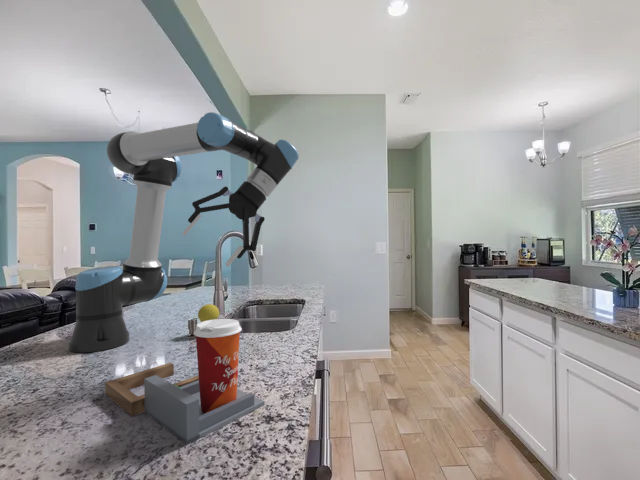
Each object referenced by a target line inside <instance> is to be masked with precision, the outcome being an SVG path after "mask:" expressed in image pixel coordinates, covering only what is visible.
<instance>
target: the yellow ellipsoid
mask: <svg viewBox="0 0 640 480" xmlns="http://www.w3.org/2000/svg"><path fill="white" fill-rule="evenodd" d="M219 316H220V309H219V308H218V306H216V305H215V304H212V303H211V304H210V303H208V304H205V305H202V306H201V307H200V308H199V310H198V313H197V319H199V321H200V323H201V322H203V321H208V320H214V319H219Z"/></svg>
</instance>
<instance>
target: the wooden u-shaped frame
mask: <svg viewBox="0 0 640 480" xmlns="http://www.w3.org/2000/svg"><path fill="white" fill-rule="evenodd" d="M174 365H175V364H174V363H172V362H169V363H165V364H162V365H161V364H160V365H157V366H154V367H152V368H148V369H144V370H142V371H138V372H135V373H131V374H128V375H125V376H121V377H118V378H115V379H112V380H108V381H105V382H104V388H105V391H104V393H105V395H106V396H107V397H108V398H109V399H111V400H112V401H113V402H114V403H115V404H117V405H118V406H119V407H120V408H121V409H122V410H124V411H125V412H126V413H127V414H128V415H129V416H130V417H134V416H136V415H137V416H138V415H139V414H142V413H145V395H144V394H141V395H139V396H138V395H136V394H135V393H134V392H132V391H131V389H135V388H138V387H140V386H144V379H145V378H148V377H151V376H154V375H157V376H158V377H160V378H162V379H164V378H168V377H171V376H173V375H175V374H174V373H175V366H174ZM198 380H199V375H198V374H197V375H195V376H192V377H188V378H187V379H186V378H185V379H183V380H180V381H178V382H175V383H172V384H173V385H176V386H178V387H182V386H184V385H187V384H190V383H192V382H195V381H198Z"/></svg>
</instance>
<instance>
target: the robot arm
mask: <svg viewBox="0 0 640 480" xmlns="http://www.w3.org/2000/svg"><path fill="white" fill-rule="evenodd" d="M216 151H225V152H228V153H230V154H232V155H235V156H238V157H240V158H243V159H245V160H247V161H250V162H251V163H252V164H254V165H256V167H255V168H254V169H253V170H252V172H251V173H250V174H249V175H248V176H247V178H246V181H243V182H242V183H241V184H240V186H238V188H237V190H235V192H232V191H231V190H230V189H229V188H228V186H223V187H222V188H220V190H219V191H217V192H214V193H212V194H209V195H207V196H205V197H202V198H200V199H197V200H195V201H193V202H192V203H191V204H192V207H193V209H194V211H193V213H192V214H191V215H190V216H189V218H188V219H187V222H189V223H190V224H189V225H188V226H187V227H186V228H185V229H184V231H182V235H183V236H184V237H185V236H186V235H187V234H188V233H189V232H190V230H191V229H192V228H193V227H194V226H195V224H196V223H197V222H198V221H199V220H200V219H201V217H202V215H201V213H205V212H206V213H207V212H213V211H218V210H219V211H220V210H225V209H228V210H229V212H230V213H231V214H233V215H235V217H236V218H237V219H239V220H242V221H241V223H242V244H243V245H239V246H238V247H237V249H235V251H234V252H232V253H233V254H231V256H230V257H229V258H228V259H227V260H226V262H225V263H224V264H225V266H226V267H228V268H229V267H230V266H231V264H233V262H234V261H235V260H236V258H237V259H241V258H242V257H243V256H244V254H245V253H246V252H247V251H251V252H256V249H257V246H258V240H259V236H260V233H261V227H262V225H263V223H264V221H265V217H264V216H261V215H259V214H258V213H257V212H258V210H259V209H260V207H261V206H262V205H263V204H264V203H265V202H266V200H267V197H269V196H270V195H271V194H272V193H273V191H274V190H275V189H276V188H277V186H278V185H279V183H280V182H282V180H283V179H284V178H285V176H286V175H287V174H288V173H289V172H290V171H291V170H292V169H293V167H294V166H295V165H296V163H297V161H298V160H299V155H300V154H299V153H298V150H297V149H296V147H295V146H294V145H293V144H292V143H291V142H289V141H287V140H286V139H279V140H277V142H275V144H274V143H272V142H270V141H268V140H266V139H265V138H263V137H262V136H260V135H258V134H257V133H255V132H254V131H252V130H250V129H247V128H245V127H244V126H241V125H240V124H238V123H236V122H234V121H232V120H230V119H229V118H228V117H226V116H224V115H222V114H219V113H216V112H212V111H211V112H206V113H204V115H203V116H201V117H200V119H198V121H197V122H195V123H194V122H193V123H188V124H183V125H177V126H173V127H168V128H167V127H166V128H161V129H156V130H152V131H151V130H150V131H146V132H141V133H140V132H137V131H125V132H120V133H118V134H115V135H114V136H113V137H111V138H110V140H109V141H108V143H107V147H106V154H107V155H106V156H107V157H108V160H109V162H110V163H111V164H112V165H113V166H114V167H115V168H116V169H117V170H119V171H121V172H123V173H125V174H129V175H132V176H133V178H132V181H133V183H134V184H135V186H136V187H137V188H136V189H137V190H136V198H135V205H134V206H135V207H134V214H133V223H132V224H133V225H132V230H131V231H132V232H131V241H130V250H129V257H128V258H127V259H125V260H124V261H123V263H122V266H119V265H109V266H100V267H95V268H90V269H86V270H83V271H81V272H79V273H78V274H77V275H76V278H75V286H74V289H75V316H76V317H75V318H76V319H75V326H74V329H73V331H72V335H71V338H70V339H69V341H68V350H69V352H73V353H93V352H100V351H106V350H110V349H115V348H118V347H120V346H123V345H125V344H127V343H129V342H130V332H129V330H128V329H127V325H126V322H125V320H124V317H123V306H127V305H128V306H129V305H133V304H138V303H145V302H149V301H152V300H156V299H158V298H160V296H162V295H163V294H164V293H165V291H166V289H167V286H168V276H167V275H166V274H167V273H166V271H165V270H164V268H162V266H163V265H162V263H161V262H160V260H159V251H160V242H161V236H162V235H161V233H162V225H163V220H164V219H163V217H164V212H165V211H164V210H165V203H166V202H165V201H166V196H167V195H166V194H167V191H169V190H170V189H171V188H172V186H173V185H172V184H173V183H174V182H176V181H177V180H178V178H180V176H181V175H182V162H181V159H180V156H187V155H188V156H189V155H195V154H201V153H208V152H216ZM221 196H223V197H227V196H228V203H222V204H215V205H210V206H203V207H201V206H200V205H202V204H205V203H207V202H209V201H212V200H215V199H217V198H219V197H221ZM251 218H254V222H255V224H254V227H253V232H252V236H251V241H250V219H251Z"/></svg>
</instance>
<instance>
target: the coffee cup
mask: <svg viewBox="0 0 640 480" xmlns="http://www.w3.org/2000/svg"><path fill="white" fill-rule="evenodd" d="M242 330H243V329H242V326H241V325H240V321H239V320H237V319H233V318H218V319H214V320H208V321H203V322H201V321H200V322H199V323H197V324H196V327H195V330H194V331H193V335H194V336H195V340H196V341H195V343H196V345H195V346H196V357H197V358H196V359H197V371H198V373H197V375H198V376H199V389H200V402H201V410H202V412H203V413H204V414H206V413H208V412H210V411H212V410H214V409H216V408H218V407H221V406H223V405H225V404H227V403H229V402H231V401H234V400H236V397H237V389H238V376H239V375H238V374H239V358H240V357H239V355H240V336H241V335H240V333H241V331H242Z"/></svg>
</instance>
